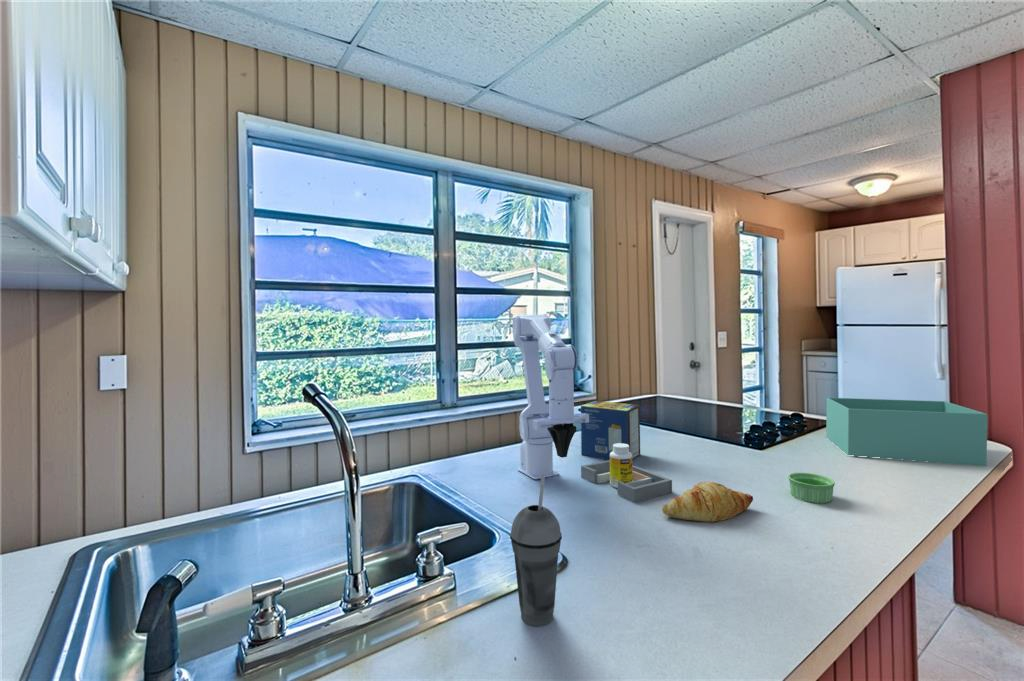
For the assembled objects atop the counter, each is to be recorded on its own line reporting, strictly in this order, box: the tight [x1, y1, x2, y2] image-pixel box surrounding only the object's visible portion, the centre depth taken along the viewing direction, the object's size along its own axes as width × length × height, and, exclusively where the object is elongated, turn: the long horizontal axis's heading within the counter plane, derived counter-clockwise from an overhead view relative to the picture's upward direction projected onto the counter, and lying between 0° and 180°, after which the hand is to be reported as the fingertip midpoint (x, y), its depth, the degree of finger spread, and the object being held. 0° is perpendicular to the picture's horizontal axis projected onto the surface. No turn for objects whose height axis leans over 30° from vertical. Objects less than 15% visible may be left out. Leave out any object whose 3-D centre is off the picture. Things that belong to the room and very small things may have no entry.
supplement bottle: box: [609, 443, 633, 489], centre depth 115 cm, size 6×6×10 cm
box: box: [825, 397, 988, 467], centre depth 140 cm, size 21×32×14 cm, turn 71°
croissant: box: [661, 481, 754, 523], centre depth 98 cm, size 21×10×8 cm
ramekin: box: [788, 472, 836, 504], centre depth 106 cm, size 9×9×4 cm
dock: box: [580, 459, 673, 503], centre depth 116 cm, size 20×12×3 cm, turn 28°
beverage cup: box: [509, 475, 563, 628], centre depth 64 cm, size 7×7×20 cm
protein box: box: [580, 400, 641, 460], centre depth 142 cm, size 10×15×16 cm
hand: (562, 456), depth 108 cm, fingers closed
